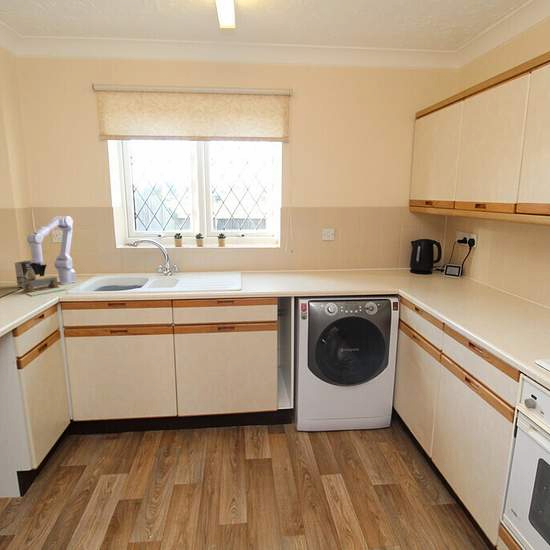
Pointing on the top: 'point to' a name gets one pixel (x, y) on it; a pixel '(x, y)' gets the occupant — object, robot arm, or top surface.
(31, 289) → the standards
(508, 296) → the top surface
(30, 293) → the mat
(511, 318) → the top surface
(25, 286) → the rail
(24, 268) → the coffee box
